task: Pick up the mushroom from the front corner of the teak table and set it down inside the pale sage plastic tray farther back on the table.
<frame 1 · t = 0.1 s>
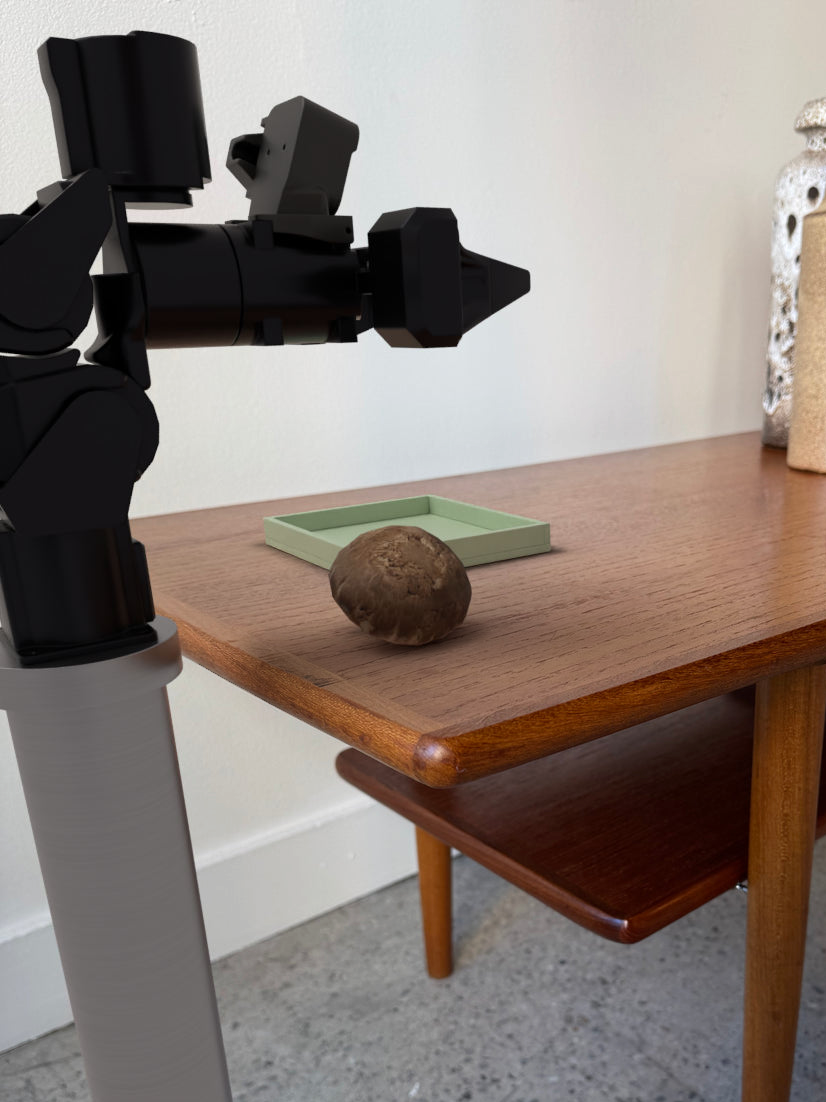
hand: (483, 284, 60), 18 cm above the table, tool horizontal, fingers open, 9 cm apart
tray: (403, 547, 79), on the table
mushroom: (404, 638, 58), on the table
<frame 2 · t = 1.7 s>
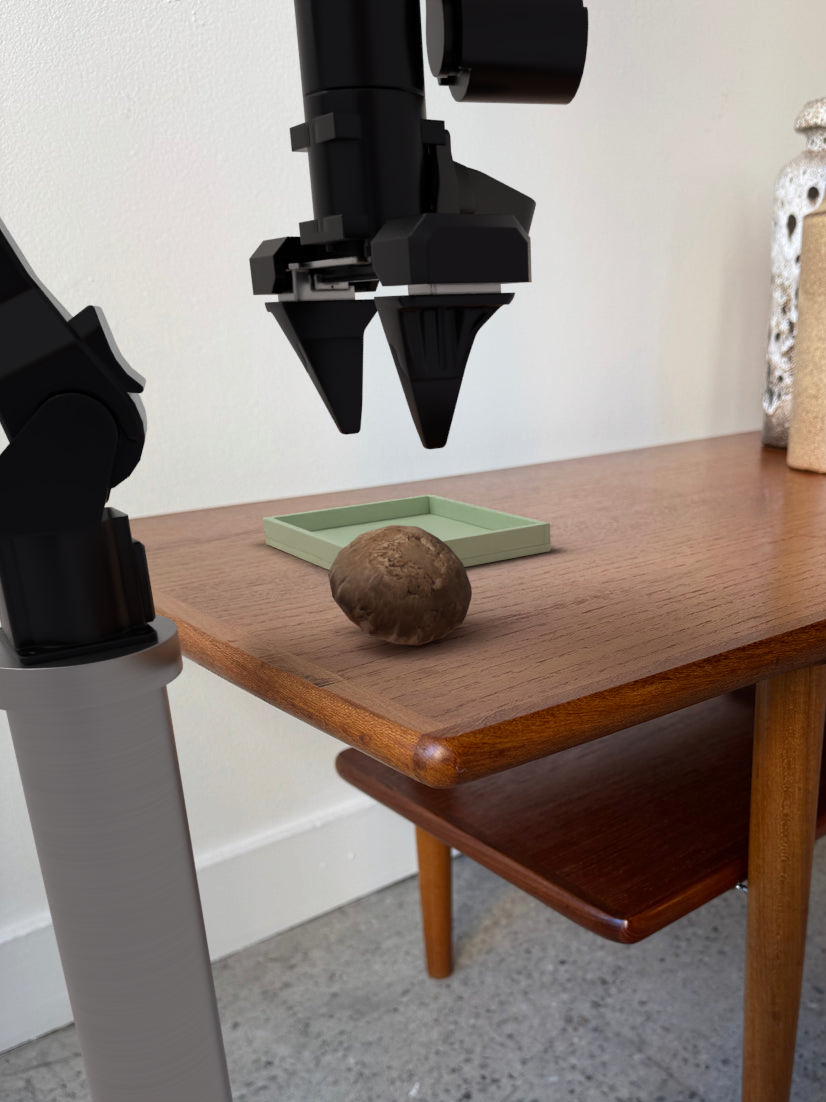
hand: (389, 440, 54), 11 cm above the table, tool pointing down, fingers open, 9 cm apart
nothing on the table moved.
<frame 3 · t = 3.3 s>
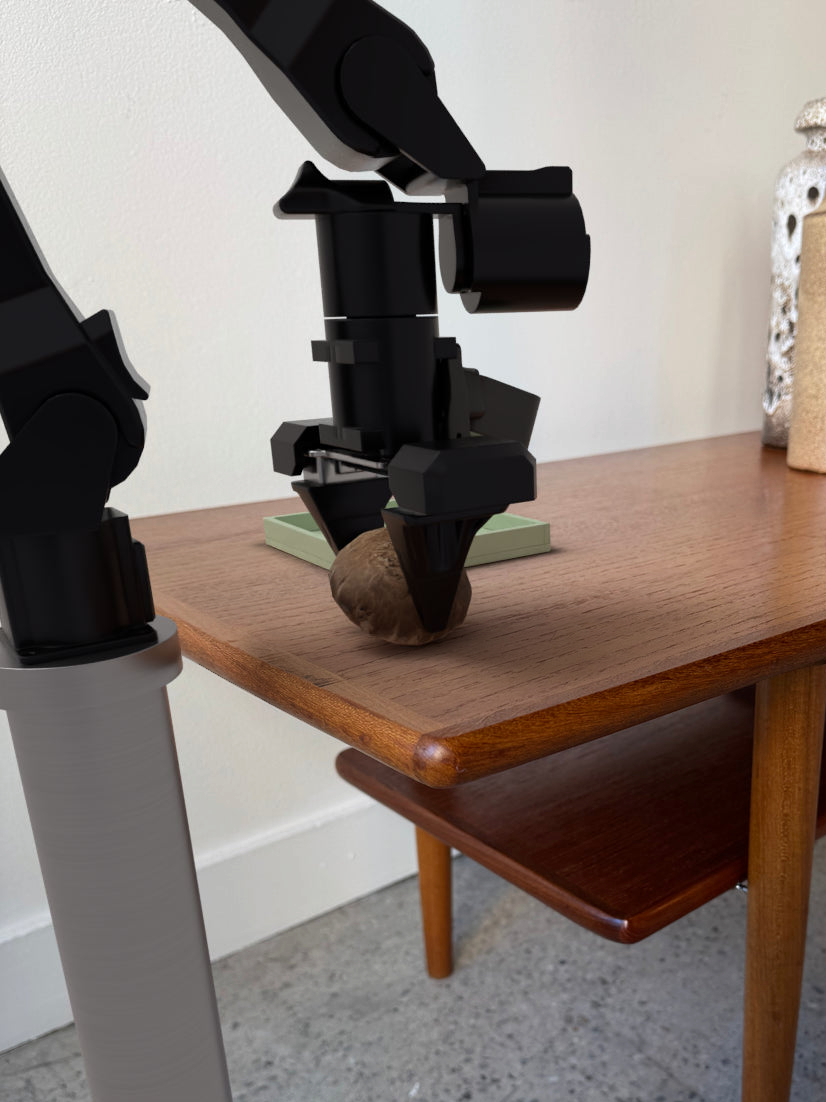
hand: (402, 616, 58), 1 cm above the table, tool pointing down, fingers closed on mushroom, 7 cm apart
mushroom: (405, 638, 58), on the table, touching gripper
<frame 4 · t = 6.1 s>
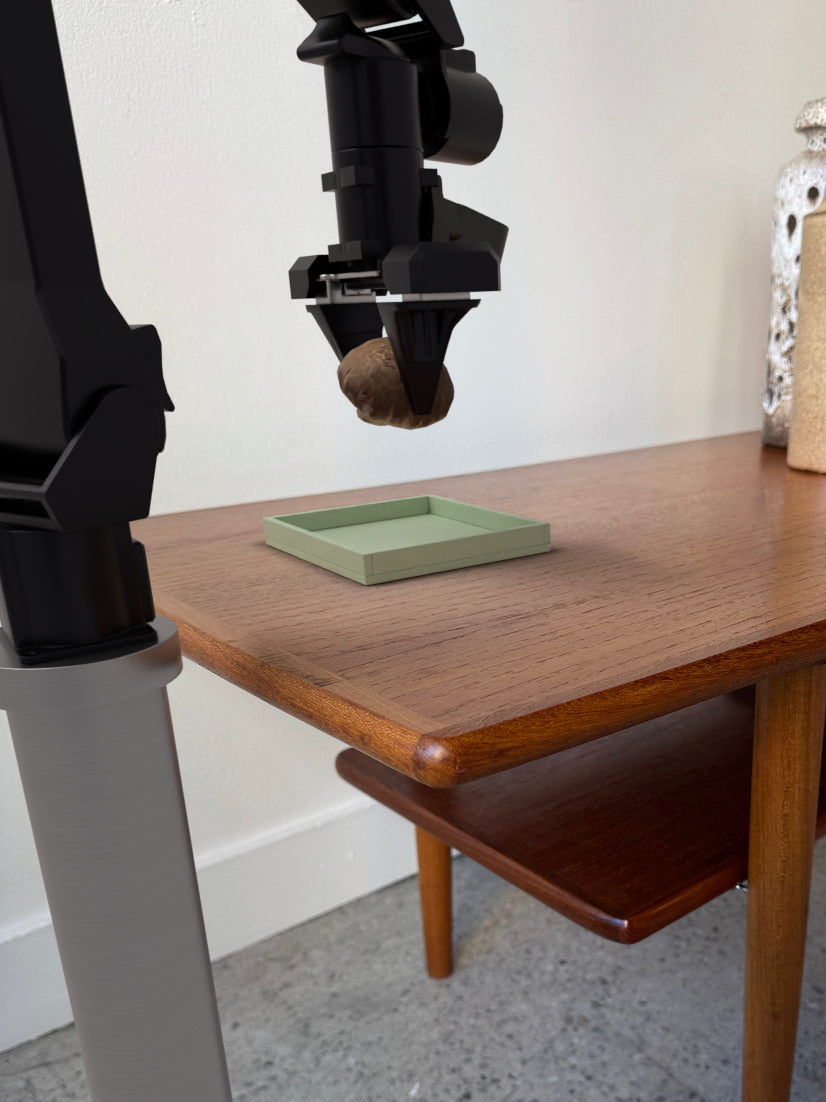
hand: (396, 411, 71), 11 cm above the table, tool pointing down, fingers closed on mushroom, 7 cm apart
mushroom: (399, 430, 71), point 9 cm above the table, touching gripper
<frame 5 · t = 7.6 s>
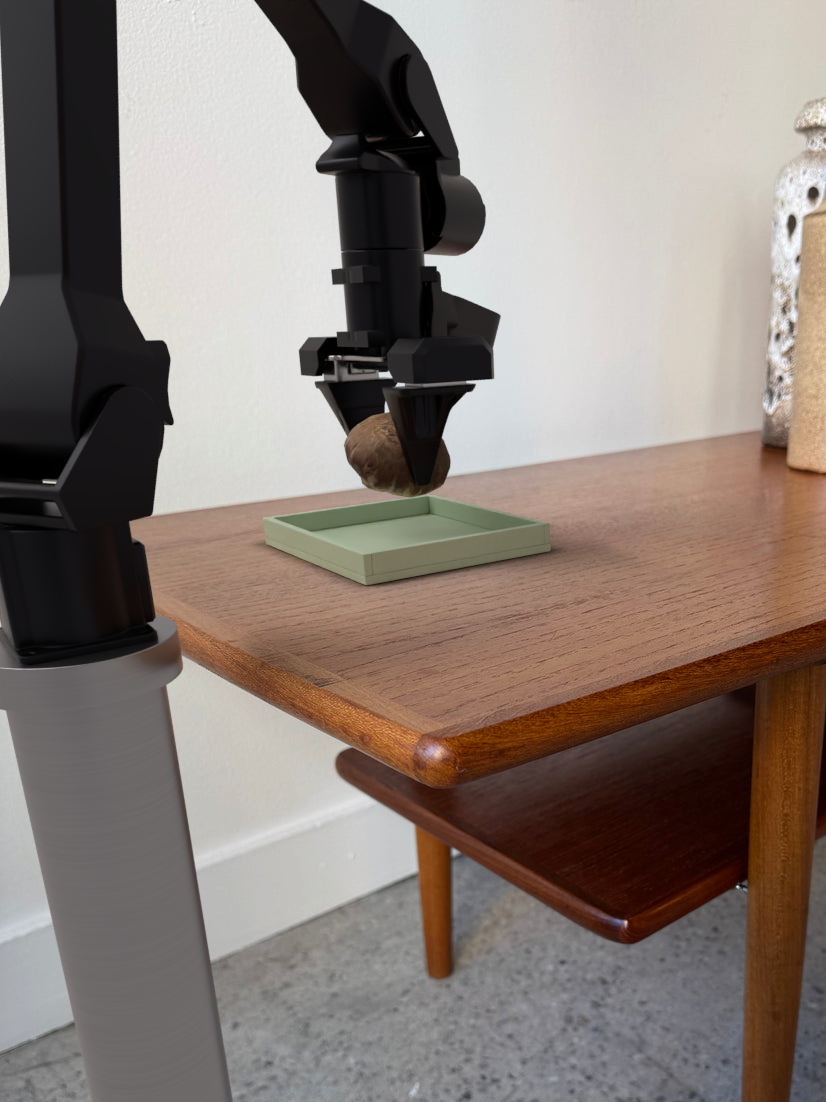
hand: (398, 480, 77), 5 cm above the table, tool pointing down, fingers closed on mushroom, 7 cm apart
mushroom: (400, 496, 78), point 4 cm above the table, touching gripper
when the fingers open (2 cm above the table, at t = 9.1 s): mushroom stays where it is, resting on tray.
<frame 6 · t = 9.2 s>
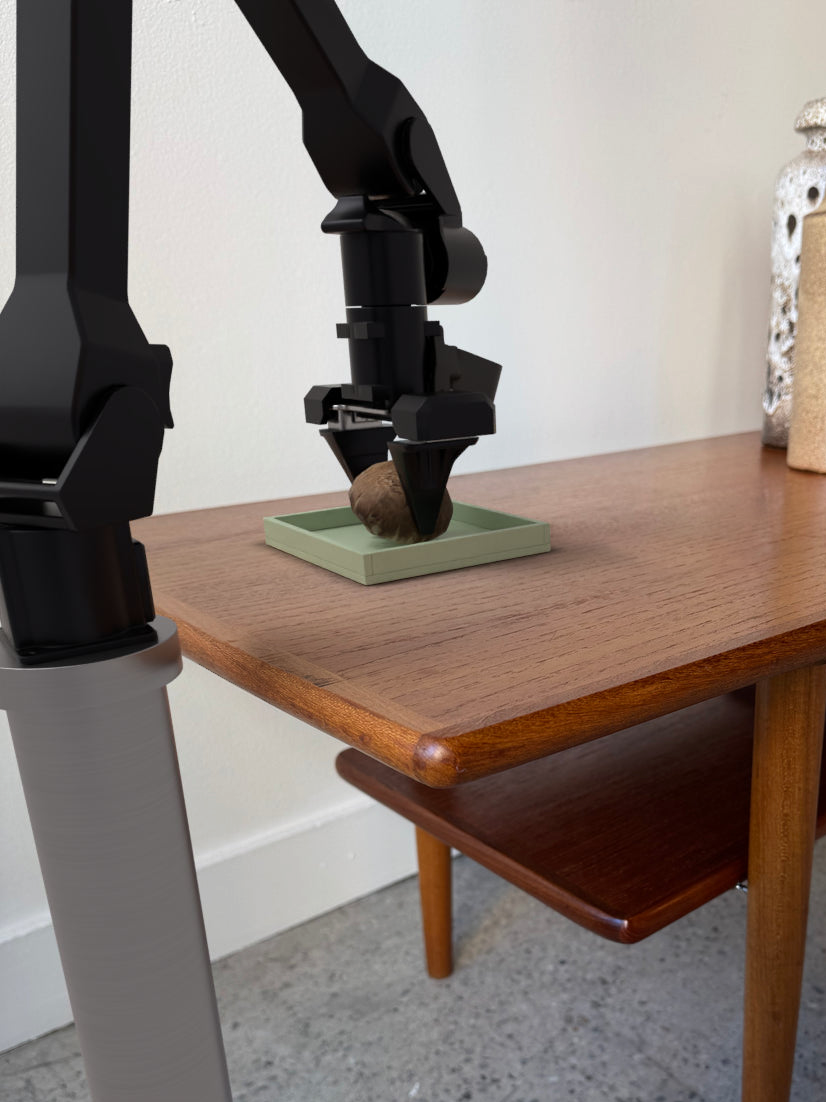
hand: (401, 527, 79), 2 cm above the table, tool pointing down, fingers open, 7 cm apart
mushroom: (404, 542, 79), resting on tray
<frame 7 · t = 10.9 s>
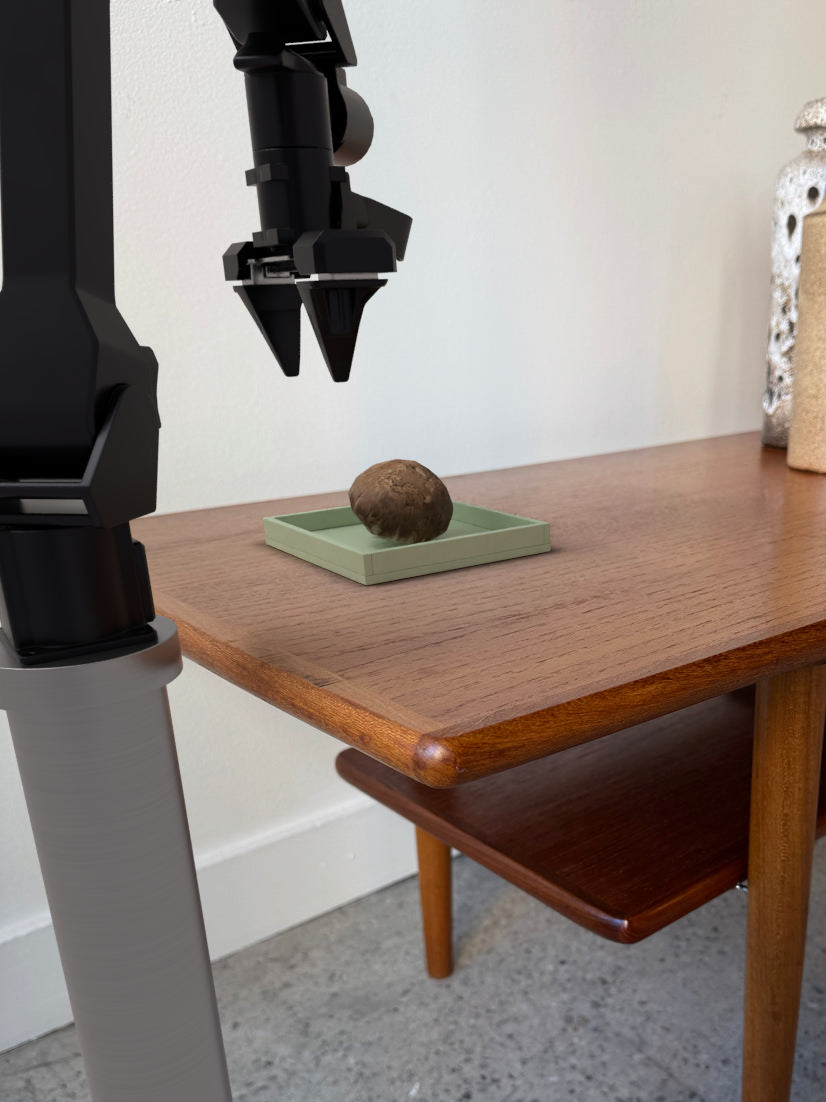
hand: (315, 379, 81), 12 cm above the table, tool pointing down, fingers open, 9 cm apart
nothing on the table moved.
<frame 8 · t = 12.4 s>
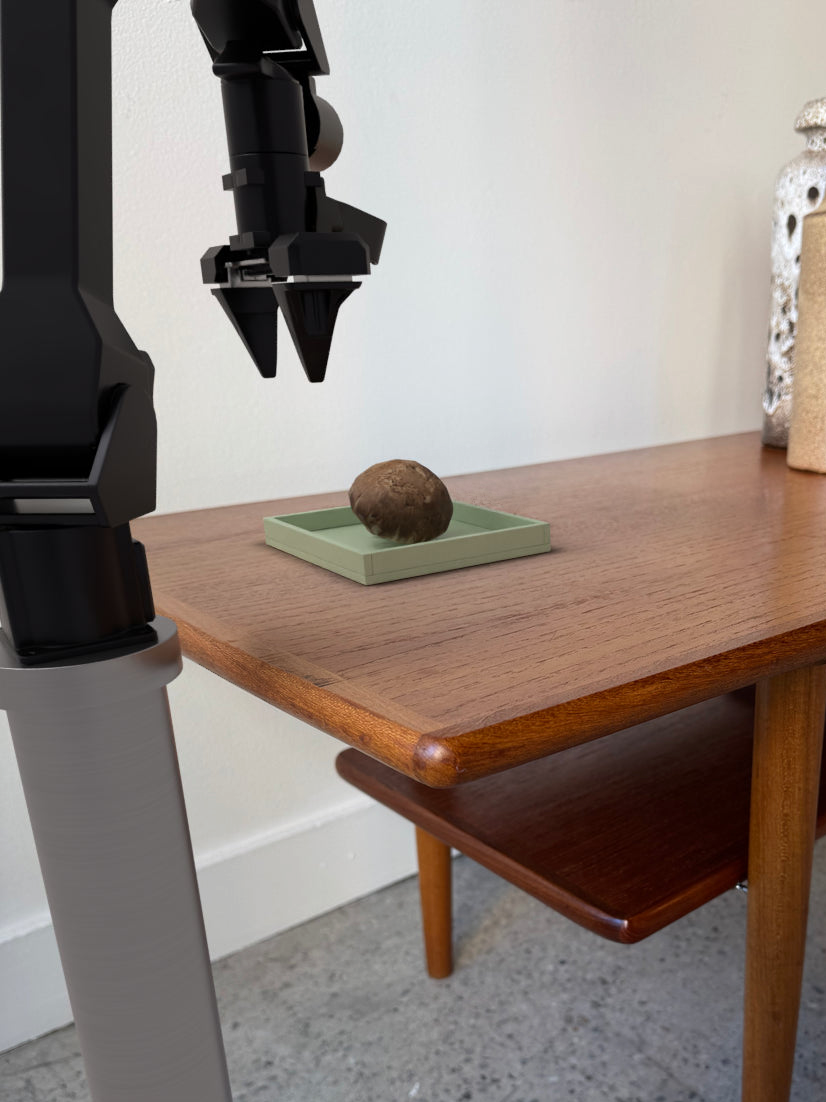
hand: (292, 380, 82), 12 cm above the table, tool pointing down, fingers open, 9 cm apart
nothing on the table moved.
at the end: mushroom inside the target area in the tray (0.2 cm from its centre), point 0.4 cm above the tray's base; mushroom tilted 0°; the gripper is holding nothing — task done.
